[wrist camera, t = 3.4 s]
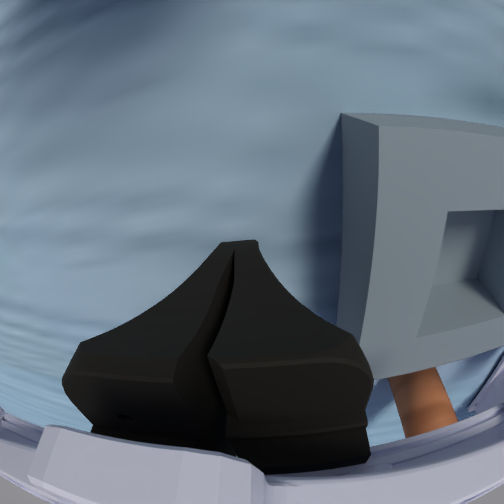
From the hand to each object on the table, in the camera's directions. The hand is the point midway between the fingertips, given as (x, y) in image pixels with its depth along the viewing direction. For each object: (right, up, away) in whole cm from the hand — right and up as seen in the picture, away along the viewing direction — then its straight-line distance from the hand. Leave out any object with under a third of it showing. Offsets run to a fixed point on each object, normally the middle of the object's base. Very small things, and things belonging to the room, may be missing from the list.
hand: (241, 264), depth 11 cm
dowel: (+11, -7, +6) cm, 14 cm away
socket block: (+9, +2, +1) cm, 9 cm away
